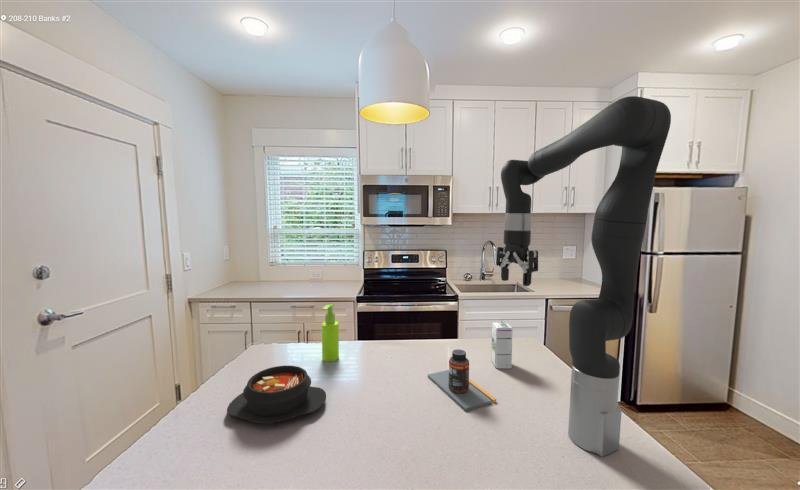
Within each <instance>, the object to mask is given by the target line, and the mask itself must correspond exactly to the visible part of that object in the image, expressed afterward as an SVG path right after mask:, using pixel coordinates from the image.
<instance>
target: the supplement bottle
mask: <svg viewBox="0 0 800 490" xmlns="http://www.w3.org/2000/svg"><path fill="white" fill-rule="evenodd" d="M451 352H452V355H451V357H449V359H448V370H449V389H450V390H451V391H453V392H456V393H464V392H467V391H468V389H469V379H470V360H469V359H468V358H467V353H466V351H465V350H464V349H459V348H458V349H456V348H455V349H452V351H451Z"/></svg>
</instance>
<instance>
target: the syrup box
mask: <svg viewBox="0 0 800 490" xmlns="http://www.w3.org/2000/svg"><path fill="white" fill-rule="evenodd" d="M512 357H513V327H512V326H511V325H510V324H509V323H508V322H500V321H499V322H491V361H490V362H491V363H492V364H493V366H494V368H495V369H509V370H510V369H512V363H513V362H512V361H513V360H512V359H513V358H512Z"/></svg>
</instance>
